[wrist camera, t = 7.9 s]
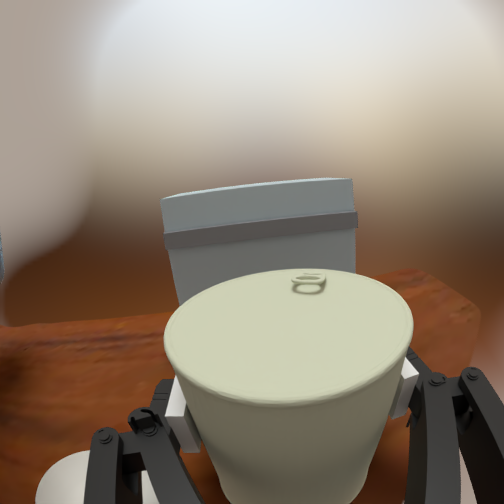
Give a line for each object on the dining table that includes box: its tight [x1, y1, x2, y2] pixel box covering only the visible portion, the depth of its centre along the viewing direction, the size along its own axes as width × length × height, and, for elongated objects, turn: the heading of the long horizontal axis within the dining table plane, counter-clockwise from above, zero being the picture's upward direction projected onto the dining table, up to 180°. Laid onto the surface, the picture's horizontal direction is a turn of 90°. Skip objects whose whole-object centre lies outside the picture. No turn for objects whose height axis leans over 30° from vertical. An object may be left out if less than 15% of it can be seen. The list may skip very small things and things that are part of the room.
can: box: [164, 269, 413, 504], centre depth 11 cm, size 9×9×12 cm
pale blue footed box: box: [160, 178, 358, 306], centre depth 21 cm, size 14×14×16 cm
